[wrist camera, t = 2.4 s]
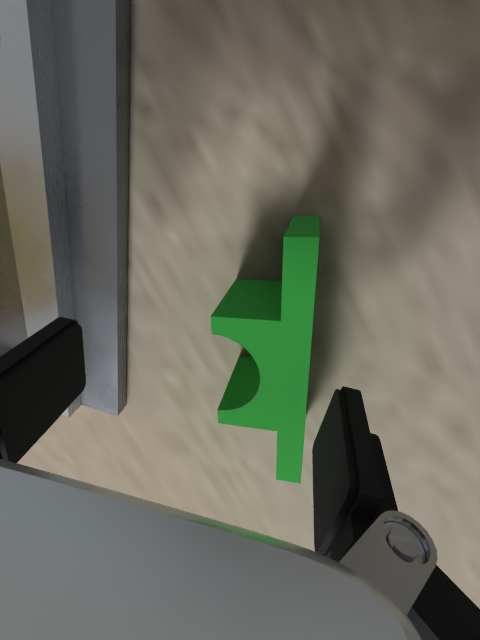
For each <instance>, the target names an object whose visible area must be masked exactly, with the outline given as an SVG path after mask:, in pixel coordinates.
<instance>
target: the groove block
mask: <svg viewBox="0 0 480 640" xmlns="http://www.w3.org/2000/svg"><path fill="white" fill-rule="evenodd" d="M129 78H130V0H0V357H1V356H2V355H3V354H5V353H6V352H8V351H9V350H11V349H12V348H14V347H15V346H17V345H18V344H20V343H21V342H23V341H24V340H26V339H27V338H29V337H30V336H31V335H33V334H34V333H36V332H37V331H39V330H40V329H42V328H43V327H45V326H46V325H48V324H49V323H51V322H52V321H54V320H55V319H56V318H58V317H65V318H69V319H73V320H76V321H77V322H78V323H79V325H80V326H81V327H82V333H83V346H84V360H85V373H86V386H85V388H84V390H83V392H82V393H81V394H80V395H79V396H78V397H77V398H76V399H75V400H74V401H73V403H72V404H71V405H70V406H69V407H68V408H67V409H66V410H65V411H64V412H63V413H62V414H61V416H64V417H67V418H69V417H70V416H71V415H72V414H73V413H74V412H75V411H76V410H77V409H78V408H79V407H80V406H81V405H84V406H87V407H91V408H94V409H97V410H100V411H104V412H107V413H110V414H114V415H117V416H118V415H119V414H120V412H121V411H122V410H123V409H124V407H125V406H126V369H127V272H128V175H129Z"/></svg>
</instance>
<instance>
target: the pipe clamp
mask: <svg viewBox="0 0 480 640" xmlns="http://www.w3.org/2000/svg"><path fill="white" fill-rule="evenodd" d="M319 238H320V216H293V217H292V219H291V221H290V223H289V226H288V228H287V230H286V232H285V234H284V236H283V265H282V281H275V280H252V279H236V280H235V282H234V283H233V285H232V286H231V288H230V289H229V290H228V292H227V293H226V295H225V296H224V298H223V299H222V301H221V302H220V304H219V305H218V306H217V308H216V309H215V311H214V312H213V314H212V315H211V328H212V334H216V335H221V336H224V337H227V338H230V339H232V340H234V341H236V342H237V343H239V344H240V345H242V346H243V347H244V348H245V349H246V350H247V351H248V352H249V353H250V354H251V355H252V356H248V357H239V358H238V361H237V363H236V366H235V368H234V371H233V373H232V376H231V378H230V380H229V383H228V385H227V388H226V390H225V393H224V395H223V398H222V400H221V403H220V405H219V408H218V423H221V424H229V425H236V426H243V427H251V428H258V429H265V430H272V431H278V434H277V468H276V479H277V480H283V481H289V482H295V483H301V471H302V458H303V445H304V432H305V419H306V406H307V393H308V380H309V367H310V354H311V341H312V328H313V315H314V302H315V290H316V277H317V264H318V251H319Z"/></svg>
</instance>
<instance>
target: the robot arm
mask: <svg viewBox="0 0 480 640" xmlns="http://www.w3.org/2000/svg"><path fill="white" fill-rule="evenodd" d="M85 386H86V373H85V360H84V346H83V333H82V327H81V326H80V325H79V323H78V322H77V321H76V320H73V319H69V318H65V317H58V318H56V319H55V320H54V321H52V322H51V323H49V324H48V325H46V326H45V327H43V328H42V329H40V330H39V331H37V332H36V333H34V334H33V335H31V336H30V337H29V338H27V339H26V340H24V341H23V342H21V343H20V344H18V345H17V346H15V347H14V348H12V349H11V350H9V351H8V352H6V353H5V354H3V355H2V356H1V357H0V640H480V609H479V608H478V607H477V606H476V605H475V604H474V603H473V602H472V601H471V600H470V599H469V598H468V597H467V596H466V595H465V594H464V593H463V592H462V591H461V590H460V589H459V588H458V587H457V586H456V585H455V584H454V583H453V582H452V581H451V579H450V578H449V577H448V576H447V575H446V574H445V573H444V572H443V571H442V570H441V569H440V568H439V567H438V566H437V565H436V563H437V550H436V547H435V545H434V542H433V540H432V538H431V537H430V535H429V534H428V532H427V531H426V530H425V529H424V528H423V527H422V526H421V525H420V523H419V522H417V521H416V520H414V519H413V518H412V517H410V516H409V515H406V514H404V513H402V512H399V511H398V509H397V505H396V501H395V497H394V493H393V489H392V485H391V481H390V477H389V473H388V470H387V466H386V462H385V458H384V454H383V450H382V446H381V442H380V439H379V437H378V436H377V435H376V434H372V433H370V430H369V426H368V421H367V417H366V413H365V408H364V404H363V399H362V395H361V392H360V390H356V389H352V388H348V387H342V388H341V390H338V389H336V390H335V392H334V394H333V397H332V399H331V402H330V404H329V407H328V409H327V412H326V414H325V417H324V419H323V422H322V424H321V426H320V429H319V431H318V434H317V436H316V439H315V441H314V445H313V452H312V454H313V501H314V546H315V551H316V552H314V551H311V550H309V549H306V548H303V547H300V546H298V545H295V544H292V543H289V542H286V541H282V540H279V539H276V538H273V537H270V536H266V535H263V534H260V533H257V532H254V531H250V530H247V529H244V528H241V527H237V526H234V525H230V524H227V523H223V522H220V521H217V520H213V519H210V518H206V517H203V516H199V515H196V514H193V513H189V512H186V511H182V510H179V509H176V508H172V507H169V506H165V505H162V504H158V503H155V502H151V501H148V500H144V499H141V498H137V497H134V496H130V495H127V494H123V493H120V492H116V491H113V490H109V489H106V488H102V487H99V486H95V485H92V484H88V483H85V482H81V481H78V480H74V479H71V478H67V477H64V476H60V475H56V474H53V473H49V472H46V471H42V470H38V469H35V468H31V467H28V466H24V465H21V464H17V462H18V461H19V460H20V459H21V458H22V457H23V456H24V455H25V454H26V452H27V451H28V450H29V449H30V448H31V447H32V446H33V445H34V444H35V443H36V442H37V441H38V439H39V438H40V437H41V436H42V435H43V434H44V433H45V432H46V431H47V430H48V429H49V428H50V426H51V425H52V424H53V423H54V422H55V421H56V420H57V419H58V418H59V417H60V416H61V414H62V413H63V412H64V411H65V410H66V409H67V408H68V407H69V406H70V405H71V404H72V403H73V401H74V400H75V399H76V398H77V397H78V396H79V395H80V394H81V393H82V392H83V390H84V388H85Z"/></svg>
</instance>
